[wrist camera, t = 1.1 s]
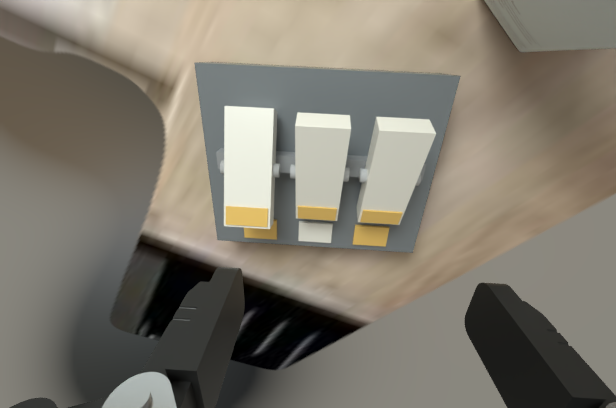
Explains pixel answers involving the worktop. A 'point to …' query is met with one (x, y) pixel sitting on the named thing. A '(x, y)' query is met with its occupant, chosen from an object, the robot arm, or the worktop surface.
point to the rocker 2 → (393, 168)
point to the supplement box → (557, 23)
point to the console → (363, 111)
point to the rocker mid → (320, 164)
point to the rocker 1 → (249, 166)
